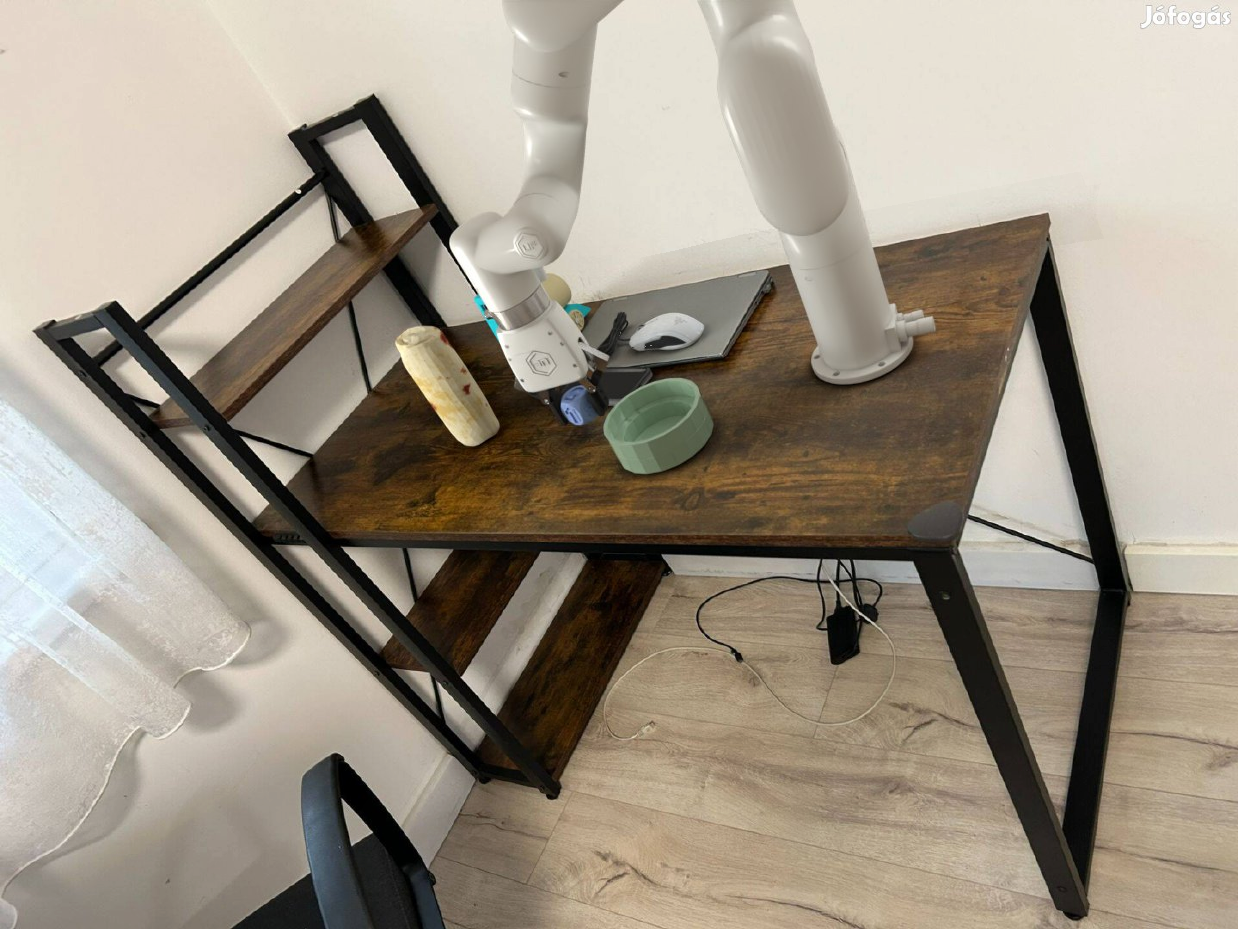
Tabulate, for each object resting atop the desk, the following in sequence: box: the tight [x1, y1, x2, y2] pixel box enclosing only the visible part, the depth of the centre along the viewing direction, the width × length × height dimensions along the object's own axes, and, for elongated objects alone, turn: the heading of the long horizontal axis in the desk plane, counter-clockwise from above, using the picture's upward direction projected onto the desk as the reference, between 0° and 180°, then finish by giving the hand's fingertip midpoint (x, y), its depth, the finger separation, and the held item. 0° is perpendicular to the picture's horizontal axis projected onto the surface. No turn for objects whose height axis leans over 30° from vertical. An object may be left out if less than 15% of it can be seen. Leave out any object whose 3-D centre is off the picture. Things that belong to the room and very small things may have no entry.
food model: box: [395, 325, 500, 447], centre depth 132 cm, size 10×7×20 cm
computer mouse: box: [596, 311, 705, 358], centre depth 136 cm, size 10×18×4 cm, turn 61°
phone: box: [558, 366, 654, 407], centre depth 131 cm, size 8×1×15 cm
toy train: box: [473, 266, 592, 344], centre depth 148 cm, size 8×17×15 cm, turn 148°
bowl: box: [603, 377, 714, 475], centre depth 112 cm, size 13×13×6 cm
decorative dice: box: [561, 385, 599, 426], centre depth 120 cm, size 4×4×4 cm
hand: (585, 413), depth 121 cm, fingers closed on decorative dice, 5 cm apart
